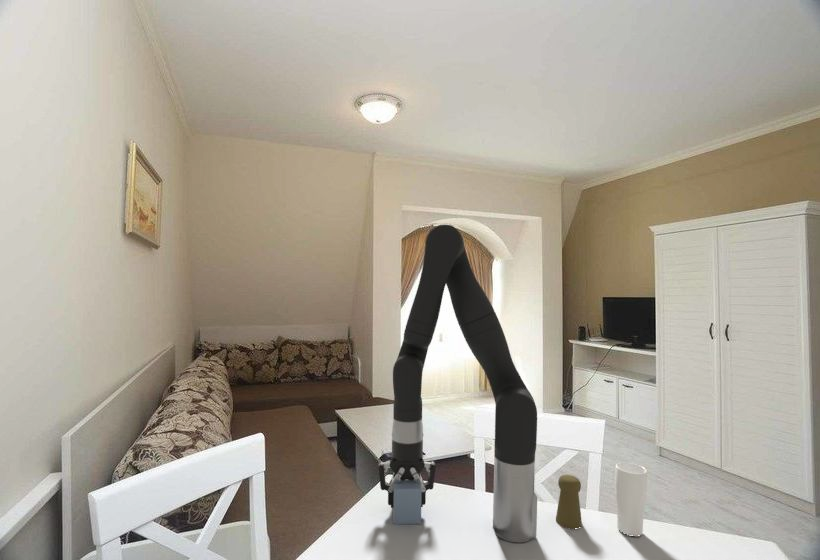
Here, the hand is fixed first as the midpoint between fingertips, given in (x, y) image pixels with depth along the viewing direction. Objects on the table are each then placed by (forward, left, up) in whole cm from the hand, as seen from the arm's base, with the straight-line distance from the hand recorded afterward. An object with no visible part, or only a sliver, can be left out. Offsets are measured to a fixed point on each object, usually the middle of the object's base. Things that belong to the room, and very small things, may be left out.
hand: (406, 505), depth 104 cm
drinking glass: (-53, +5, -4) cm, 53 cm away
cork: (-40, +1, -4) cm, 40 cm away
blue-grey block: (0, 0, -2) cm, 2 cm away
